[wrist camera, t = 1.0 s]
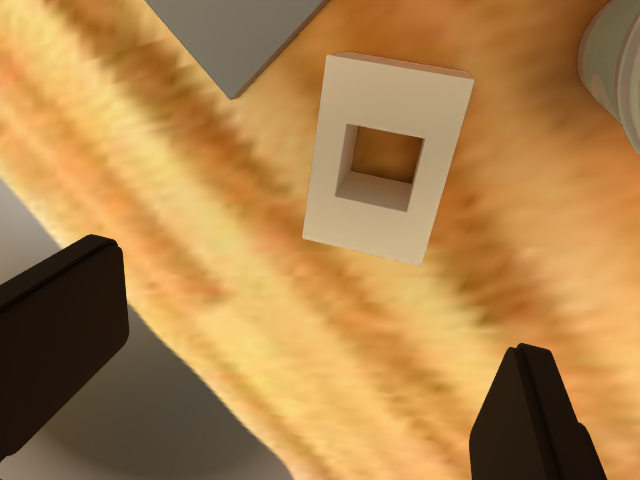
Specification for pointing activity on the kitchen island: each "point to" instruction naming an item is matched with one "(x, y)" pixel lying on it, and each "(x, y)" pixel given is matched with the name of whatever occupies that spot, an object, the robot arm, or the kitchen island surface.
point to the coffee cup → (614, 63)
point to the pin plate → (235, 34)
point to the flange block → (393, 116)
